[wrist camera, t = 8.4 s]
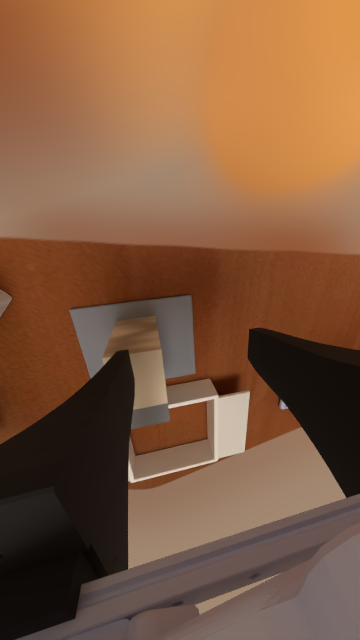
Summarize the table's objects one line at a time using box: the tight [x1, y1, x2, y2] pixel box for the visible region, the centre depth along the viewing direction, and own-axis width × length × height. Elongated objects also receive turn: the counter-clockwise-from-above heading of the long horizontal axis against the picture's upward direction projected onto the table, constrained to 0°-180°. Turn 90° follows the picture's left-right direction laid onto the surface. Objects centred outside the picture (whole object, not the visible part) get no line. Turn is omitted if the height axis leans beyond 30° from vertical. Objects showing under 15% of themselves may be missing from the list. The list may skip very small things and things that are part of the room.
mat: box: [69, 295, 195, 379], centre depth 20 cm, size 12×10×1 cm
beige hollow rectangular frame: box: [128, 378, 250, 483], centre depth 24 cm, size 20×12×3 cm, turn 94°
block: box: [102, 316, 170, 429], centre depth 17 cm, size 4×7×7 cm, turn 4°
